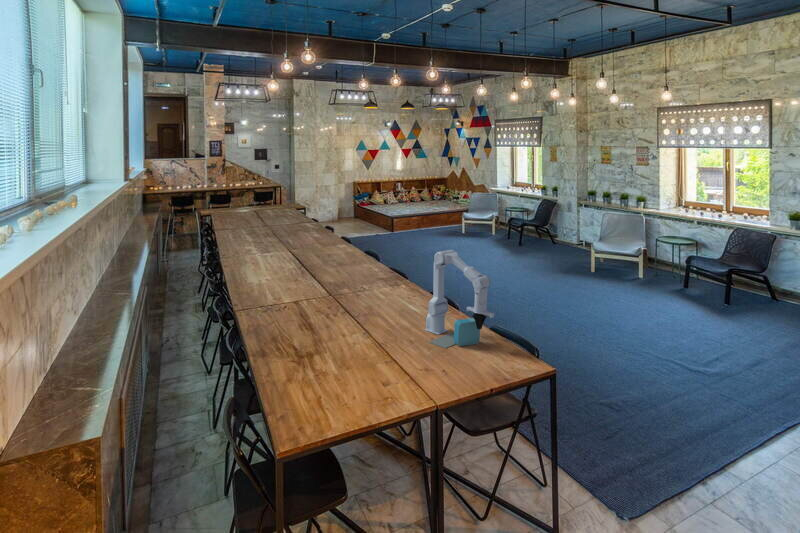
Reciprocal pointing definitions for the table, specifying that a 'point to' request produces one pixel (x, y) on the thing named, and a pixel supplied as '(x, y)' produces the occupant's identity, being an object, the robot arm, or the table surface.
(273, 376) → the table surface
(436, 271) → the robot arm
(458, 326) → the data package
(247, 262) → the table surface
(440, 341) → the mat
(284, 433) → the table surface
